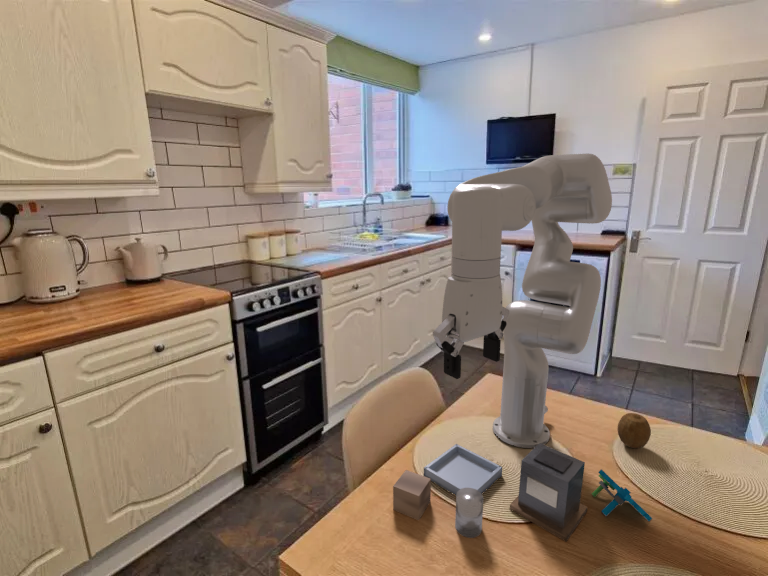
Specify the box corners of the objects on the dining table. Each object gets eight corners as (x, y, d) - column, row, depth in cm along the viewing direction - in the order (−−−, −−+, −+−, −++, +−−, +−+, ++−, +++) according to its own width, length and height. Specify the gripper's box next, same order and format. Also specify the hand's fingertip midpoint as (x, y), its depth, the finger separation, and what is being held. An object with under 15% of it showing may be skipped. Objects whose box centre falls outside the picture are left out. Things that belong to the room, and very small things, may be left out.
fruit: (652, 448, 91) (658, 415, 89) (640, 459, 88) (645, 425, 86) (623, 435, 96) (627, 403, 94) (610, 445, 92) (614, 412, 90)
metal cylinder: (464, 513, 73) (466, 483, 72) (486, 527, 70) (488, 496, 69) (449, 527, 70) (451, 497, 69) (472, 542, 67) (473, 511, 66)
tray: (456, 451, 90) (456, 443, 90) (501, 475, 83) (502, 466, 82) (423, 476, 83) (423, 467, 82) (470, 505, 75) (471, 495, 75)
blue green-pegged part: (667, 527, 68) (626, 488, 67) (641, 552, 68) (600, 513, 67) (625, 488, 79) (590, 454, 78) (603, 510, 79) (567, 476, 78)
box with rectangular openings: (532, 484, 80) (537, 436, 78) (586, 511, 74) (593, 460, 71) (509, 509, 74) (513, 458, 72) (566, 541, 67) (572, 487, 65)
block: (405, 492, 79) (406, 469, 77) (430, 502, 76) (430, 478, 75) (393, 510, 74) (393, 486, 73) (418, 520, 72) (418, 496, 71)
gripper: (491, 256, 73) (488, 346, 78) (418, 272, 64) (418, 374, 68) (529, 263, 68) (522, 360, 72) (454, 281, 58) (452, 392, 62)
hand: (472, 366), depth 70 cm, fingers open, 9 cm apart
